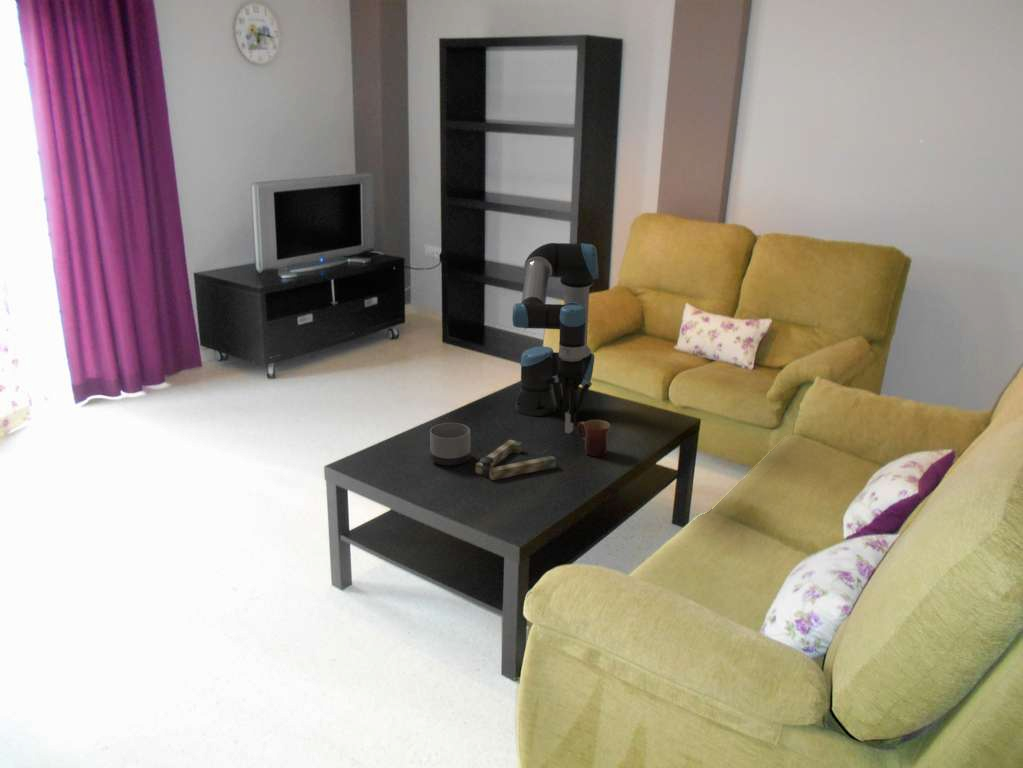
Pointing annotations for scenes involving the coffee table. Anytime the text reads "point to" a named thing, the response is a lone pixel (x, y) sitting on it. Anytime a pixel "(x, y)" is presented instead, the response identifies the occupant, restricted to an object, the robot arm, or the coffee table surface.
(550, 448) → the coffee table surface
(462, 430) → the planter
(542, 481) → the coffee table surface
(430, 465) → the coffee table surface
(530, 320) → the robot arm
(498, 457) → the tongs fixed
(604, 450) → the mug
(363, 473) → the coffee table surface
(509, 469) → the tongs jaw
